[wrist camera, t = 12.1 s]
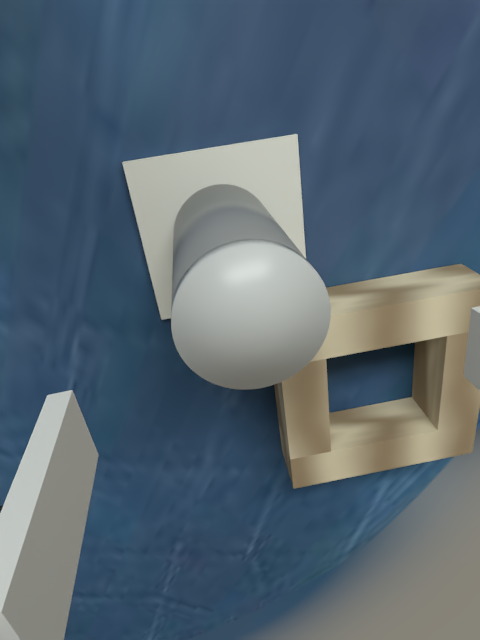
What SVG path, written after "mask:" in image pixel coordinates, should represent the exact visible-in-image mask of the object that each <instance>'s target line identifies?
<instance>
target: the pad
mask: <svg viewBox="0 0 480 640" xmlns="http://www.w3.org/2000/svg"><path fill="white" fill-rule="evenodd" d="M122 164H123V168H124V172H125V176H126V180H127V184H128V188H129V192H130V196H131V200H132V204H133V208H134V212H135V216H136V220H137V224H138V228H139V232H140V236H141V240H142V244H143V248H144V252H145V256H146V260H147V264H148V268H149V272H150V276H151V280H152V284H153V288H154V292H155V296H156V300H157V304H158V308H159V312H160V316H161V320H163V319H169V318H171V306H172V271H173V237H174V224H175V220H176V217H177V214H178V212H179V210H180V208H181V207H182V205H183V204H184V203H185V201H186V200H187V199H188V198H189V197H190V196H191V195H193V194H194V193H195V192H197V191H199V190H201V189H203V188H205V187H208V186H212V185H217V184H229V185H235V186H238V187H241V188H243V189H245V190H247V191H249V192H250V193H252V194H253V195H254V196H255V197H257V198H258V200H259V201H260V202H261V203H262V204H263V206H264V207H265V208H266V209H267V211H268V212H269V213H270V214H271V216H272V217H273V218H274V219H275V221H276V222H277V223H278V224H279V226H280V227H281V228H282V229H283V231H284V232H285V233H286V234H287V236H288V237H289V238H290V239H291V241H292V242H293V243H294V244H295V246H296V247H297V248H298V249H299V251H300V252H301V253H302V254H303V256H304V257H305V258H306V252H305V238H304V223H303V208H302V194H301V179H300V164H299V150H298V135H297V134H293V135H287V136H281V137H275V138H268V139H262V140H256V141H250V142H243V143H237V144H231V145H225V146H218V147H212V148H206V149H200V150H193V151H187V152H181V153H175V154H168V155H162V156H156V157H150V158H143V159H137V160H131V161H125V162H122Z"/></svg>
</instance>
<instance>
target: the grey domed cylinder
mask: <svg viewBox="0 0 480 640" xmlns="http://www.w3.org/2000/svg"><path fill="white" fill-rule="evenodd" d="M330 319H331V307H330V299H329V295H328V292H327V289H326V287H325V285H324V282H323V281H322V279H321V278H320V276H319V274H318V273H317V272H316V271H315V269H314V268H313V267H312V266H311V264H310V263H309V262H308V261H307V259H306V258H305V257H304V256H303V254H302V253H301V252H300V251H299V249H298V248H297V247H296V246H295V244H294V243H293V242H292V241H291V239H290V238H289V237H288V236H287V234H286V233H285V232H284V231H283V229H282V228H281V227H280V226H279V224H278V223H277V222H276V221H275V219H274V218H273V217H272V216H271V214H270V213H269V212H268V211H267V209H266V208H265V207H264V206H263V204H262V203H261V202H260V201H259V200H258V198H257V197H255V196H254V195H253V194H252V193H250V192H249V191H247V190H245V189H243V188H241V187H238V186H235V185H229V184H217V185H212V186H208V187H205V188H203V189H201V190H199V191H197V192H195V193H194V194H193V195H191V196H190V197H189V198H188V199H187V200H186V201H185V203H184V204H183V205H182V207H181V208H180V210H179V212H178V214H177V217H176V220H175V224H174V237H173V271H172V306H171V330H172V337H173V340H174V343H175V347H176V349H177V351H178V353H179V355H180V356H181V358H182V359H183V361H184V362H185V363H186V364H187V365H188V367H189V368H190V369H191V370H192V371H194V372H195V373H196V374H197V375H199V376H200V377H202V378H203V379H205V380H207V381H209V382H211V383H213V384H216V385H219V386H222V387H226V388H231V389H241V390H246V389H258V388H264V387H268V386H272V385H274V384H277V383H280V382H282V381H284V380H286V379H288V378H290V377H292V376H293V375H295V374H296V373H298V372H299V371H300V370H302V369H303V368H304V367H305V366H306V365H307V364H308V363H309V362H310V361H311V360H312V359H313V358H314V356H315V355H316V354H317V353H318V351H319V349H320V348H321V346H322V344H323V342H324V340H325V338H326V335H327V332H328V329H329V324H330Z"/></svg>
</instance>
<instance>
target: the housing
mask: <svg viewBox="0 0 480 640" xmlns="http://www.w3.org/2000/svg"><path fill="white" fill-rule="evenodd" d="M326 289H327V292H328V295H329V299H330V307H331V319H330V324H329V329H328V332H327V335H326V338H325V340H324V342H323V344H322V346H321V348H320V349H319V351H318V353H317V354H316V355H315V356H314V358H313V359H312V360H311V361H310V362H309V363H308V364H307V365H306V366H305V367H304V368H303V369H302V370H300V371H299V372H298V373H296V374H295V375H293V376H292V377H290V378H288V379H286V380H284V381H282V382H280V383H277V384H274V388H275V396H276V404H277V412H278V421H279V429H280V437H281V445H282V452H283V455H284V458H285V462H286V465H287V469H288V472H289V475H290V479H291V482H292V485H293V489H295V488H300V487H304V486H309V485H314V484H319V483H324V482H329V481H334V480H339V479H344V478H349V477H354V476H359V475H364V474H369V473H374V472H379V471H384V470H389V469H394V468H399V467H403V466H408V465H413V464H418V463H423V462H428V461H433V460H438V459H443V458H448V457H453V456H458V455H463V454H468V453H472V452H473V445H474V439H475V433H476V426H477V420H478V413H479V407H480V391H479V390H478V389H477V388H476V387H475V386H474V385H473V384H472V383H471V382H470V381H468V380H467V379H466V378H465V377H464V376H463V375H464V367H465V358H466V350H467V341H468V333H469V324H470V316H471V308H473V307H478V306H480V275H479V274H478V273H476V272H474V271H473V270H471V269H469V268H467V267H466V266H464V265H462V264H456V265H451V266H445V267H439V268H434V269H428V270H423V271H417V272H411V273H406V274H400V275H395V276H389V277H383V278H378V279H372V280H367V281H361V282H355V283H350V284H344V285H339V286H333V287H327V288H326ZM413 342H415V351H414V367H413V383H412V397H409V398H404V399H399V400H394V401H389V402H383V403H378V404H373V405H368V406H363V407H358V408H353V409H347V410H342V411H337V412H332V413H329V403H328V383H327V363H326V359H328V358H333V357H338V356H344V355H349V354H354V353H360V352H365V351H370V350H376V349H381V348H386V347H392V346H397V345H402V344H408V343H413Z"/></svg>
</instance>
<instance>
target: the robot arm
mask: <svg viewBox="0 0 480 640" xmlns="http://www.w3.org/2000/svg"><path fill="white" fill-rule="evenodd" d="M463 376H464V377H465V378H466V379H467V380H468V381H470V382H471V383H472V384H473V385H474V386H475V387H476V388H477V389H478V390H479V391H480V306H478V307H473V308H471V316H470V324H469V333H468V341H467V350H466V358H465V367H464V375H463ZM97 460H98V453H97V450H96V448H95V445H94V443H93V440H92V438H91V435H90V433H89V430H88V428H87V425H86V423H85V420H84V418H83V415H82V413H81V410H80V408H79V405H78V403H77V400H76V398H75V395H74V393H73V390H70V391H65V392H60V393H56V394H51V395H47V398H46V400H45V403H44V405H43V408H42V410H41V413H40V415H39V418H38V420H37V423H36V425H35V428H34V430H33V433H32V435H31V438H30V440H29V443H28V445H27V448H26V450H25V453H24V455H23V458H22V460H21V463H20V465H19V468H18V470H17V473H16V475H15V478H14V480H13V483H12V485H11V488H10V490H9V493H8V495H7V498H6V500H5V503H4V505H3V506H0V640H64V636H65V630H66V625H67V620H68V614H69V609H70V604H71V598H72V593H73V588H74V583H75V577H76V572H77V567H78V561H79V556H80V551H81V545H82V540H83V535H84V529H85V524H86V519H87V513H88V508H89V503H90V498H91V492H92V487H93V482H94V476H95V471H96V466H97Z"/></svg>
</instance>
